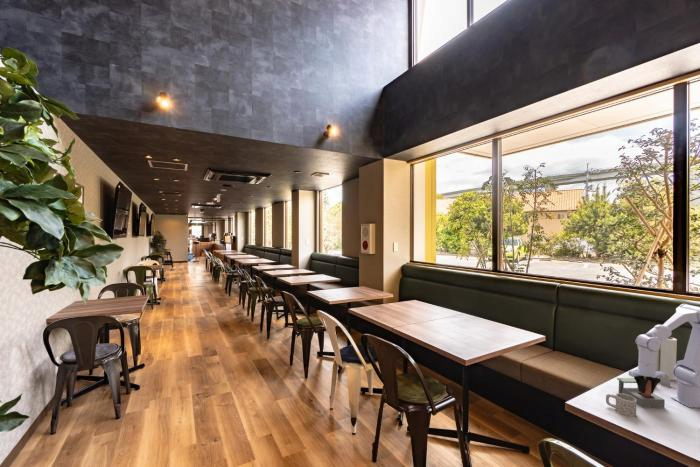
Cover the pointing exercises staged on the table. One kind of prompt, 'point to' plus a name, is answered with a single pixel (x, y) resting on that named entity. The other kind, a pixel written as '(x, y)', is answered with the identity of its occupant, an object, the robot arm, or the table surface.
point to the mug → (623, 404)
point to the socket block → (634, 392)
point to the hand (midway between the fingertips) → (645, 392)
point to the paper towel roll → (667, 357)
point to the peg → (647, 390)
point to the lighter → (665, 380)
